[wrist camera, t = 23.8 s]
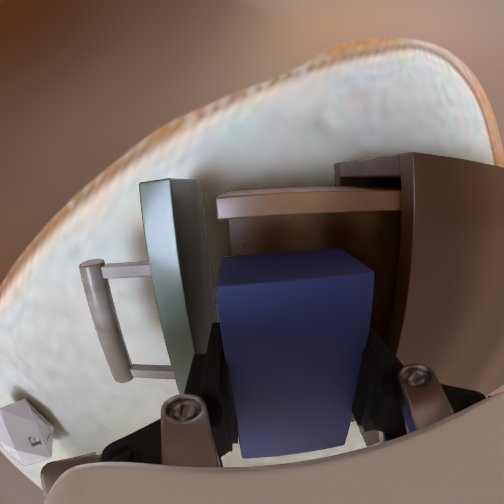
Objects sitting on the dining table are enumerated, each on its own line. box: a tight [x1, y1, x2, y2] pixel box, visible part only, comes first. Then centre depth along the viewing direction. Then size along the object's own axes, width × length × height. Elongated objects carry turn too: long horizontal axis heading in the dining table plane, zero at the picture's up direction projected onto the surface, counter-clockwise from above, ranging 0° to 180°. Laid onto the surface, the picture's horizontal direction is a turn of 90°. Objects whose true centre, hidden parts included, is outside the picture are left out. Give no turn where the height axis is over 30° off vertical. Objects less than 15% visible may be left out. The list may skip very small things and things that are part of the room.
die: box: [0, 398, 54, 466], centre depth 18 cm, size 8×9×10 cm
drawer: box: [79, 178, 401, 422], centre depth 14 cm, size 18×14×7 cm
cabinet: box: [334, 152, 504, 446], centre depth 14 cm, size 15×15×9 cm
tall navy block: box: [216, 248, 375, 458], centre depth 9 cm, size 8×4×3 cm, turn 4°
